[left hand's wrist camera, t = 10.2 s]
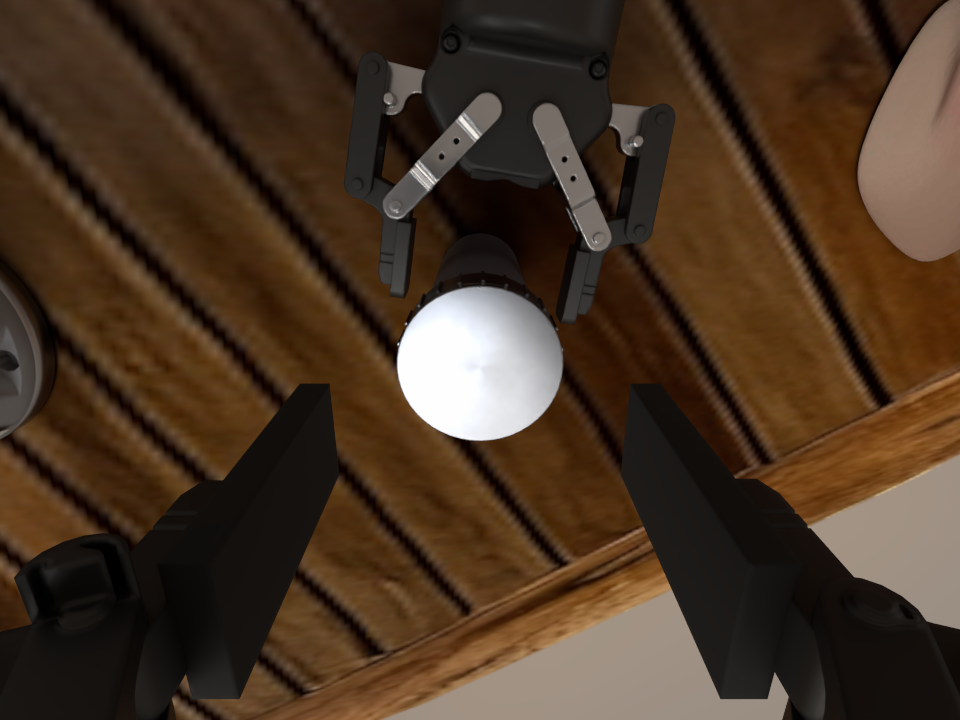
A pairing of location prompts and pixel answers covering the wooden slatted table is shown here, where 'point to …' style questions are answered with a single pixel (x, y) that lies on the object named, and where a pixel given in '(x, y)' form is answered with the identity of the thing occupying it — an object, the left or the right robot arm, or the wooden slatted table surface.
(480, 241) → the dark grey cylinder
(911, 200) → the anatomical model
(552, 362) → the lid
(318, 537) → the wooden slatted table surface
